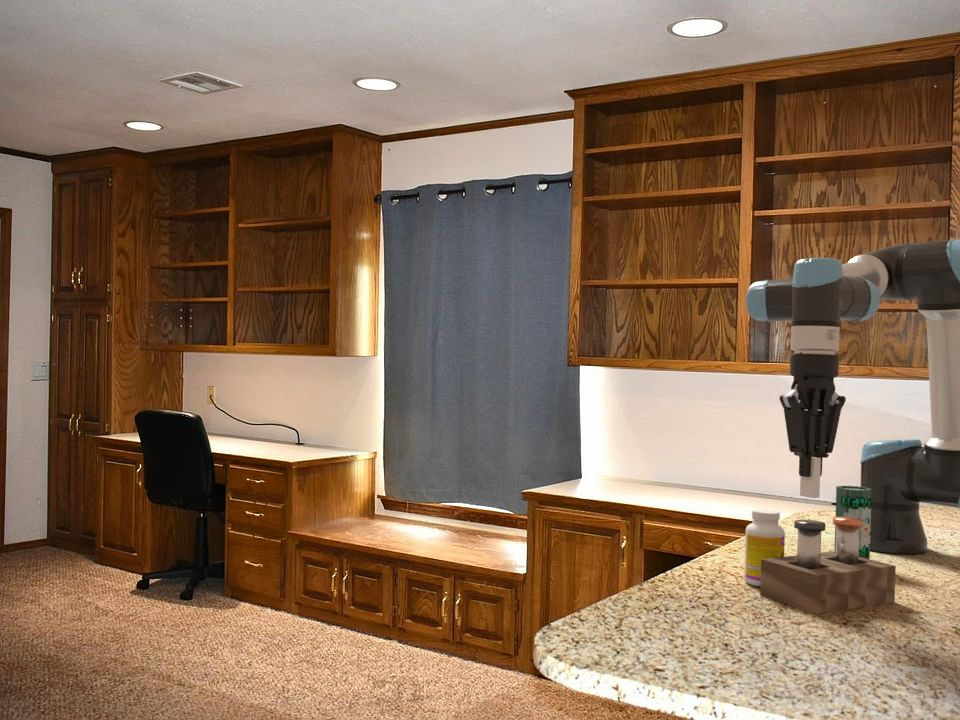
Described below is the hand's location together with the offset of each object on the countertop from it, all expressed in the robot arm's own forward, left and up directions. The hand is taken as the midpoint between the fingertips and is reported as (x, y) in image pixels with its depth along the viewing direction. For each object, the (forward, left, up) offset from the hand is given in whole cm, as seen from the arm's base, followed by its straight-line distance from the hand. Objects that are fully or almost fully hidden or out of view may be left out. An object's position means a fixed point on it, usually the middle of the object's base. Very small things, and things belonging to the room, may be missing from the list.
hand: (809, 496), depth 148 cm
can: (-30, -16, -18) cm, 38 cm away
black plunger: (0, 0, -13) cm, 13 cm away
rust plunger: (-9, 0, -13) cm, 16 cm away
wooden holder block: (-5, 0, -17) cm, 18 cm away
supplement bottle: (-2, -12, -18) cm, 21 cm away
